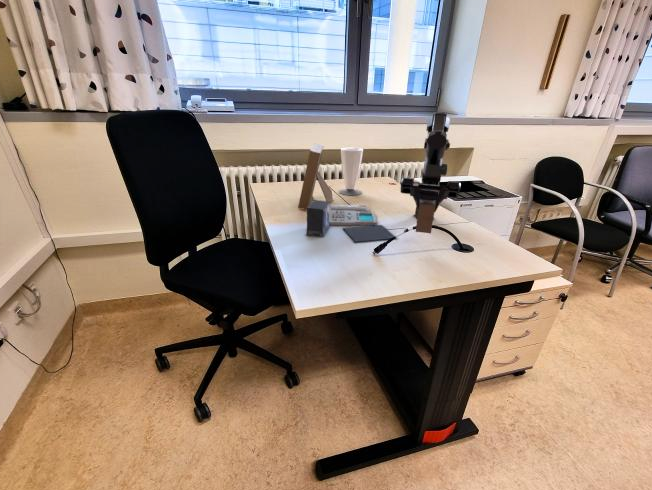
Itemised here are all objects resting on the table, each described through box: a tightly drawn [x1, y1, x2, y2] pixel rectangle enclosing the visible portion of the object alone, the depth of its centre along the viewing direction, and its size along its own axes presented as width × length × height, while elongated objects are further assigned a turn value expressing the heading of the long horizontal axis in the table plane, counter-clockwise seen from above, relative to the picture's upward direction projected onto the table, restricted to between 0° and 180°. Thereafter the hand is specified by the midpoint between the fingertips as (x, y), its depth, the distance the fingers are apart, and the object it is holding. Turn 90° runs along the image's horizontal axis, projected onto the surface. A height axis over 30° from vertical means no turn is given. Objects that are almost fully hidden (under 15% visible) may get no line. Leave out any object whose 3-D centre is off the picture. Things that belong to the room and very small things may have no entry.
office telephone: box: [329, 204, 378, 226], centre depth 144 cm, size 23×3×20 cm
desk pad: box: [342, 224, 397, 244], centre depth 127 cm, size 16×14×1 cm
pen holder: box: [415, 200, 436, 234], centre depth 111 cm, size 5×5×10 cm
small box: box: [306, 199, 330, 237], centre depth 125 cm, size 11×6×10 cm, turn 168°
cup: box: [339, 146, 364, 196], centre depth 173 cm, size 12×12×22 cm
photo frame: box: [297, 143, 334, 211], centre depth 154 cm, size 15×22×25 cm
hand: (426, 210), depth 109 cm, fingers closed on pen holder, 5 cm apart
